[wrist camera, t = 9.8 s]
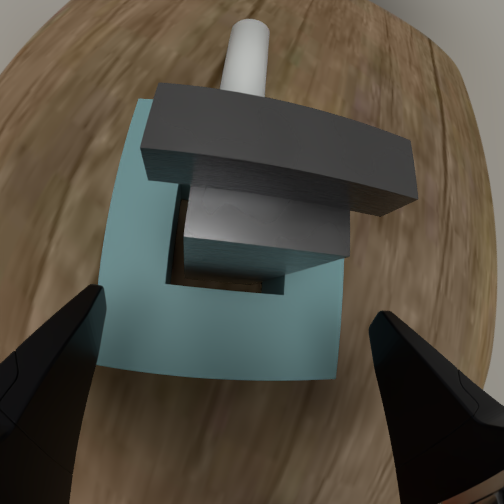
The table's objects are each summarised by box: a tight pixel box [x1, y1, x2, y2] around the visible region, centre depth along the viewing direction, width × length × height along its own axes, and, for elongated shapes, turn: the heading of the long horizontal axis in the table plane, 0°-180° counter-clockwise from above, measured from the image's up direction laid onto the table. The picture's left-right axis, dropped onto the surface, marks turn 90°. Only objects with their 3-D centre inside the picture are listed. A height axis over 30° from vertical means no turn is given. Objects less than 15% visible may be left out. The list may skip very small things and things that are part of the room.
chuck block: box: [96, 19, 344, 381], centre depth 18 cm, size 24×12×4 cm, turn 176°
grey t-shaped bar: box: [140, 83, 418, 285], centre depth 12 cm, size 4×6×14 cm, turn 86°
